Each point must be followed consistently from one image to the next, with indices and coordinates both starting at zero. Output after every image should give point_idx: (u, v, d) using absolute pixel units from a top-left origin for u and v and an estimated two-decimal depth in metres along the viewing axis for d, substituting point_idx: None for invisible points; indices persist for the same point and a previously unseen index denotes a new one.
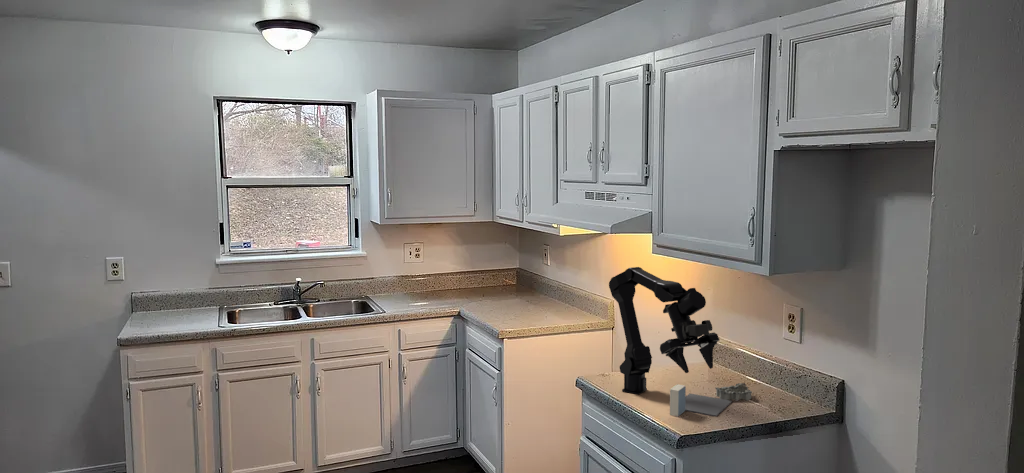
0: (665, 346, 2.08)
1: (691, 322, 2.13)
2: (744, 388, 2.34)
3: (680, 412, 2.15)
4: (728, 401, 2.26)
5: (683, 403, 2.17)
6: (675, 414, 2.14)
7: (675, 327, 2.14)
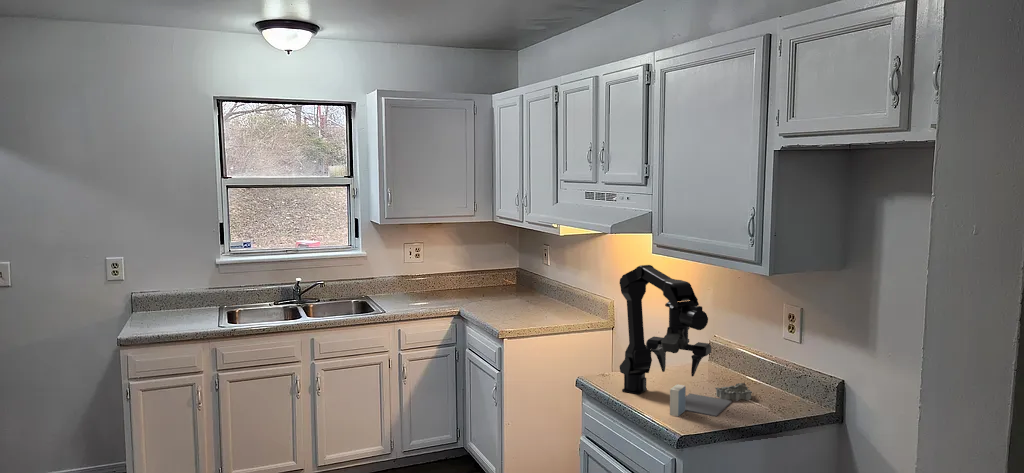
0: None
1: (678, 331, 2.11)
2: (744, 388, 2.34)
3: (680, 412, 2.15)
4: (728, 401, 2.26)
5: (683, 403, 2.17)
6: (675, 414, 2.14)
7: None
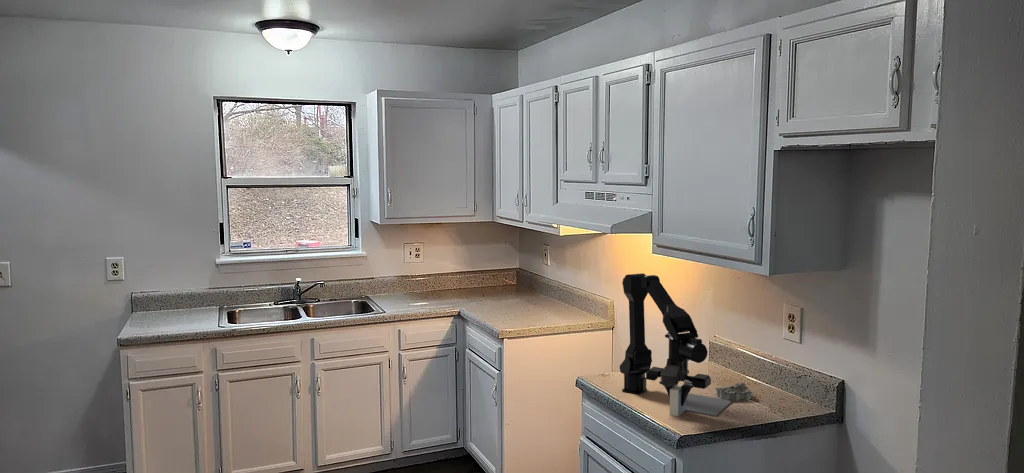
0: None
1: (677, 362, 2.12)
2: (743, 388, 2.34)
3: (680, 412, 2.15)
4: (728, 401, 2.26)
5: None
6: (675, 414, 2.14)
7: None
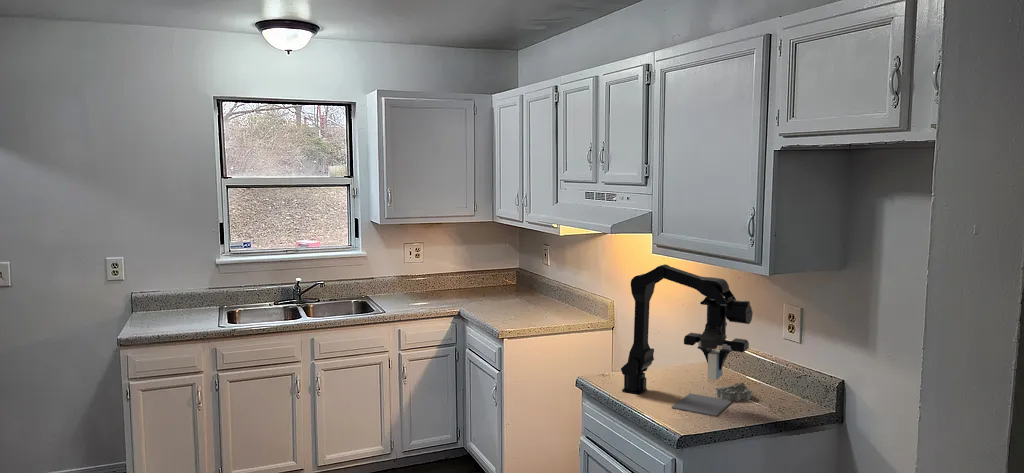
0: None
1: (716, 327, 2.16)
2: (743, 388, 2.34)
3: (718, 376, 2.19)
4: (728, 401, 2.26)
5: None
6: (713, 378, 2.18)
7: None
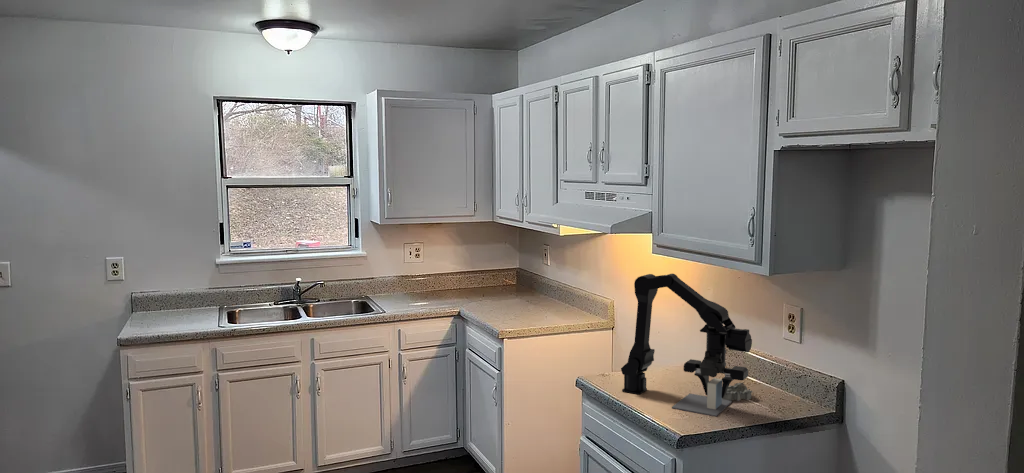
0: None
1: (715, 355, 2.17)
2: (743, 388, 2.34)
3: (718, 405, 2.20)
4: (728, 401, 2.26)
5: (720, 396, 2.21)
6: (712, 407, 2.19)
7: None
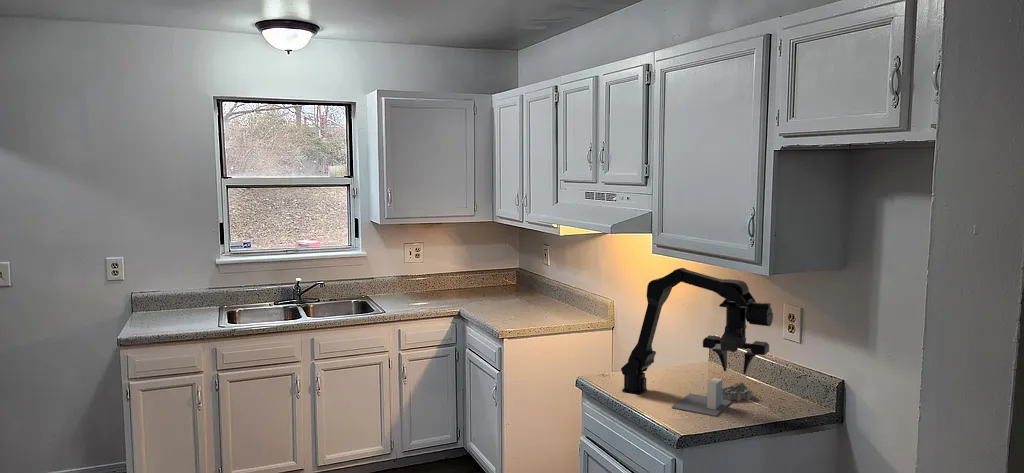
0: None
1: (736, 330, 2.13)
2: (743, 388, 2.34)
3: (718, 405, 2.20)
4: (728, 401, 2.26)
5: (720, 396, 2.21)
6: (712, 407, 2.19)
7: None
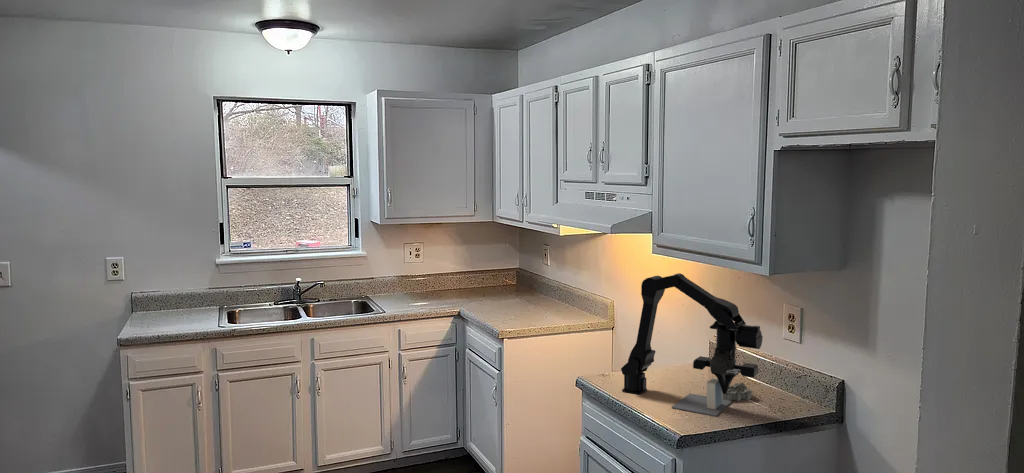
0: None
1: (726, 352, 2.15)
2: (743, 388, 2.34)
3: (717, 405, 2.20)
4: (728, 401, 2.26)
5: (720, 396, 2.21)
6: (712, 407, 2.19)
7: None
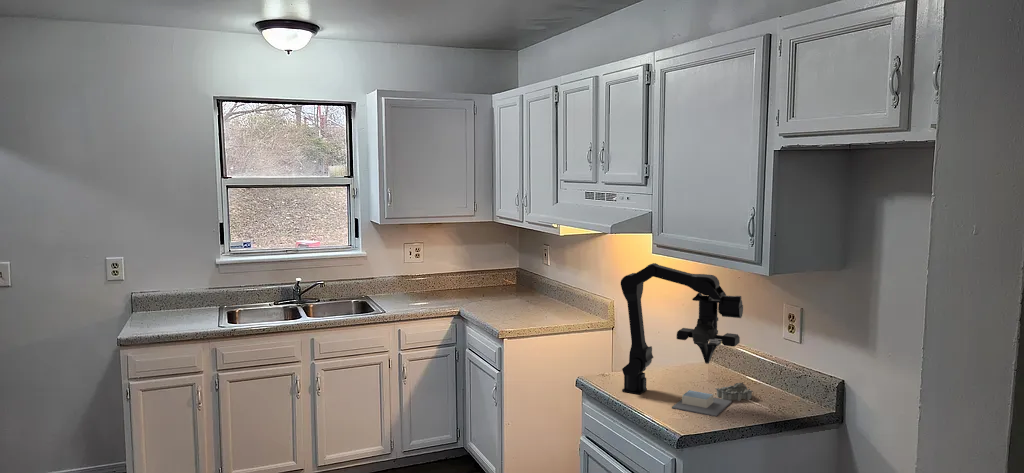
0: None
1: (707, 322, 2.21)
2: (742, 387, 2.34)
3: (706, 397, 2.22)
4: (728, 401, 2.26)
5: (702, 394, 2.25)
6: (705, 402, 2.20)
7: None
